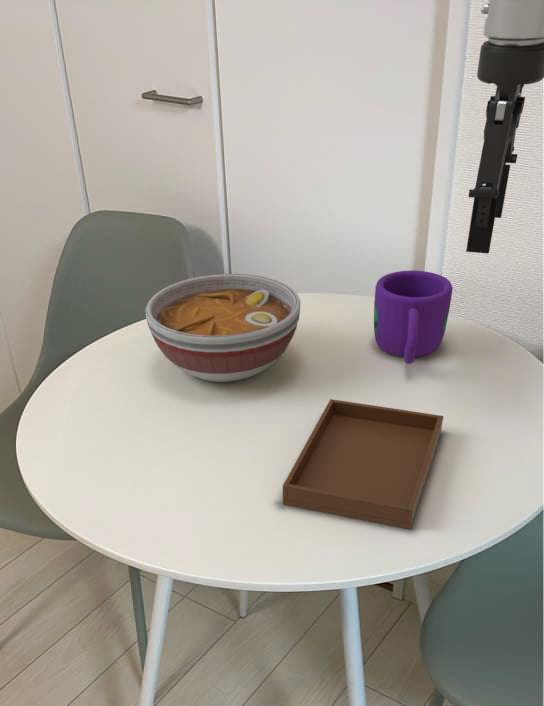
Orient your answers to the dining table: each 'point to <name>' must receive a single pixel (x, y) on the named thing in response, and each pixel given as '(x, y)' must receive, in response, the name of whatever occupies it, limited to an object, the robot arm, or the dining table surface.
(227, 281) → the bowl
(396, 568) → the dining table surface
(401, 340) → the mug
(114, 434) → the dining table surface
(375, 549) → the dining table surface
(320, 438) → the tray
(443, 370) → the dining table surface
